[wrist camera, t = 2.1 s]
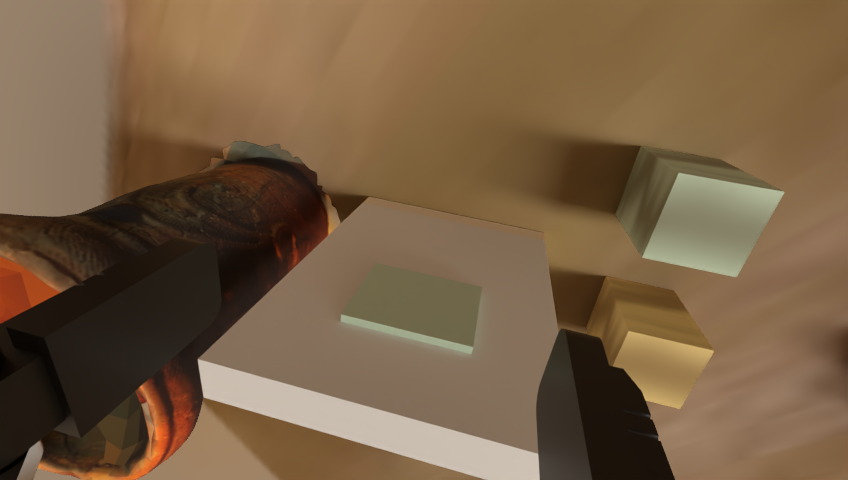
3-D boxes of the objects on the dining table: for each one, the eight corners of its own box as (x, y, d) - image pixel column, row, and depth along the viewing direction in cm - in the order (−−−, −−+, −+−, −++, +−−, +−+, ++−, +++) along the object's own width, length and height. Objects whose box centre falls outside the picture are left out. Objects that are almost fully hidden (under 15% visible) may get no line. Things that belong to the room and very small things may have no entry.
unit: (369, 191, 32) (196, 351, 15) (544, 227, 30) (582, 457, 13) (358, 332, 38) (228, 559, 21) (502, 369, 37) (490, 650, 19)
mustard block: (606, 275, 31) (628, 330, 25) (673, 290, 30) (714, 350, 24) (585, 326, 33) (601, 389, 27) (648, 341, 32) (679, 409, 26)
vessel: (214, 284, 40) (-35, 463, 22) (180, 137, 34) (-195, 214, 16) (351, 300, 37) (198, 520, 19) (339, 144, 31) (104, 246, 13)
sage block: (640, 145, 27) (678, 172, 20) (720, 159, 26) (784, 192, 20) (615, 214, 29) (642, 257, 23) (687, 228, 28) (736, 277, 22)
